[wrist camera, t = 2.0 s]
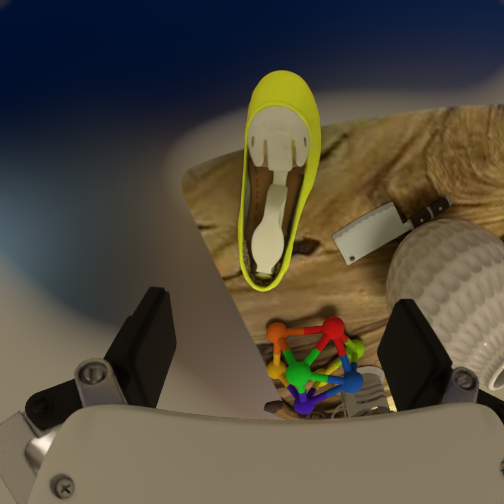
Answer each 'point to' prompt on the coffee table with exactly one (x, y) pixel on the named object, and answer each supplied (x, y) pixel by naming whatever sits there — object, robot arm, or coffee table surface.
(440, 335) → the vase
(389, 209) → the cleaver
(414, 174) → the coffee table surface
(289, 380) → the educational toy
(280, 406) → the flintlock pistol
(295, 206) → the ballet flat
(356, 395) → the french press
